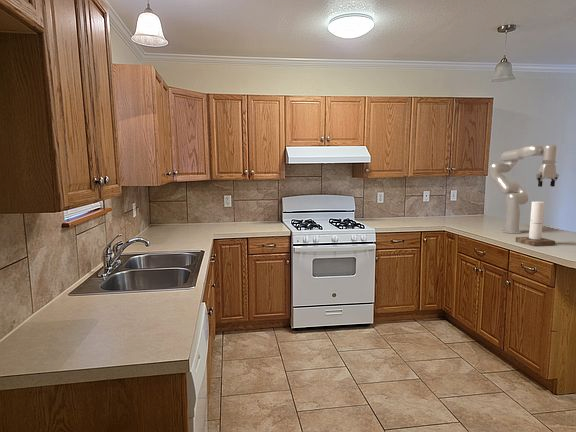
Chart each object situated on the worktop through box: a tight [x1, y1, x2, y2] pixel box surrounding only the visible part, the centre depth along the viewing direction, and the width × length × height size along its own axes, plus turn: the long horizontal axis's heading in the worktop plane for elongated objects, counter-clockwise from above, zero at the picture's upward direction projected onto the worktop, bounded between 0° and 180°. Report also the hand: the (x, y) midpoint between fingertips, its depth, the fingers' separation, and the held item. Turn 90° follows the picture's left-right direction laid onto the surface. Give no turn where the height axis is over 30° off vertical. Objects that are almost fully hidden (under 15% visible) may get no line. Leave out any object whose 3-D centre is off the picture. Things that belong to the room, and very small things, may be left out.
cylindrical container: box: [528, 201, 545, 239], centre depth 253 cm, size 7×7×25 cm
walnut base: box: [515, 236, 556, 247], centre depth 254 cm, size 16×16×4 cm
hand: (546, 186), depth 268 cm, fingers open, 9 cm apart
